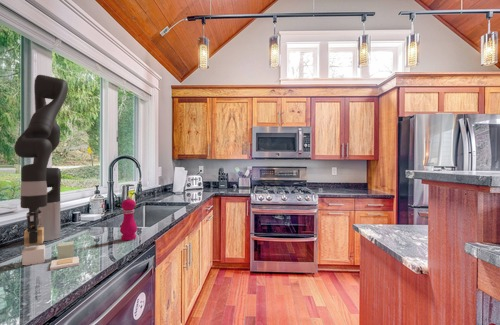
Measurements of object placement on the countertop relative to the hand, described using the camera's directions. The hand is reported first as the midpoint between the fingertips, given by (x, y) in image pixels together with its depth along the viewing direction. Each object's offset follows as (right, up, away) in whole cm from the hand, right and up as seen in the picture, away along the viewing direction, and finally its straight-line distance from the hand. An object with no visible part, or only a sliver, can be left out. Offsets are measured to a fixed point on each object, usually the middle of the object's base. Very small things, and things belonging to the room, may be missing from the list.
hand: (34, 241), depth 98 cm
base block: (0, -7, 0) cm, 7 cm away
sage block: (+8, -7, +5) cm, 12 cm away
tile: (+13, -7, -3) cm, 15 cm away
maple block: (0, -1, 0) cm, 1 cm away
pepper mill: (+21, -8, +29) cm, 37 cm away
